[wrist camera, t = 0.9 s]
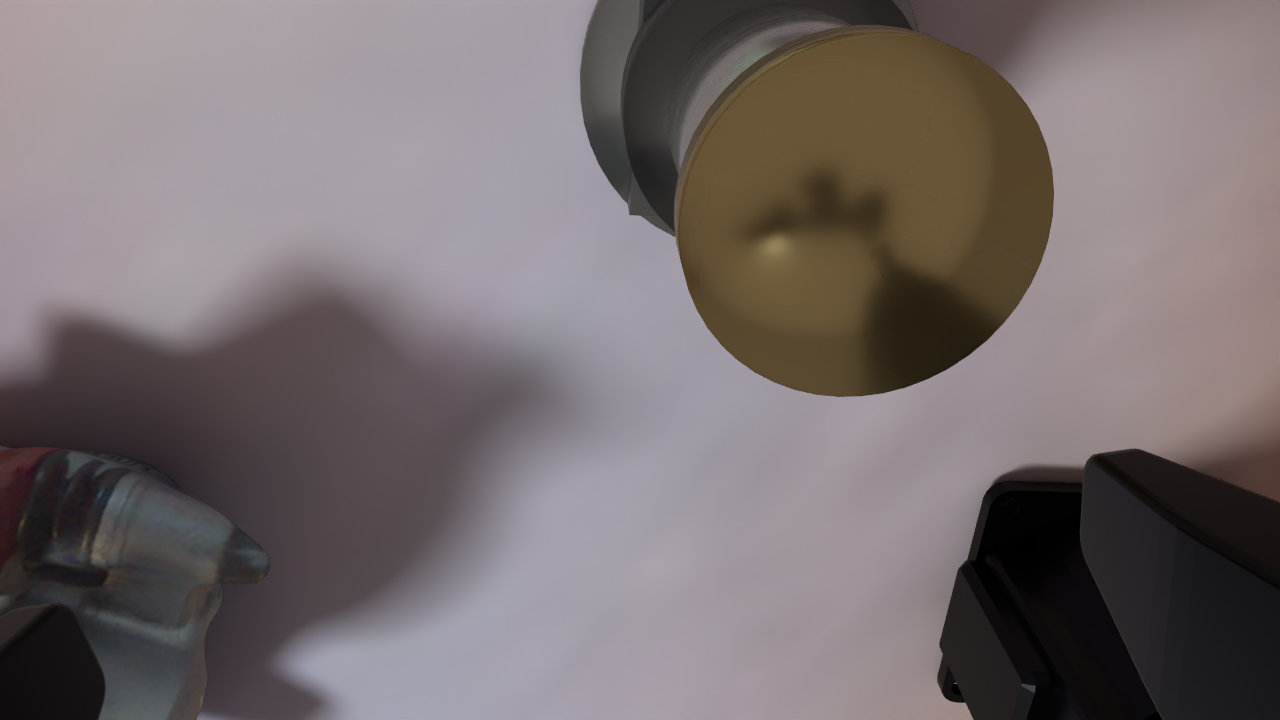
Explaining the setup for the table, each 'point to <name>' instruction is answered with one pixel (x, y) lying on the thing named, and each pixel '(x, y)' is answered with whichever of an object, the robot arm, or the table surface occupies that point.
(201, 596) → the carburetor
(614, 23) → the disc with square block
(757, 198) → the brass cabinet knob
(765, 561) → the table surface
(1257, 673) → the robot arm
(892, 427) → the table surface
